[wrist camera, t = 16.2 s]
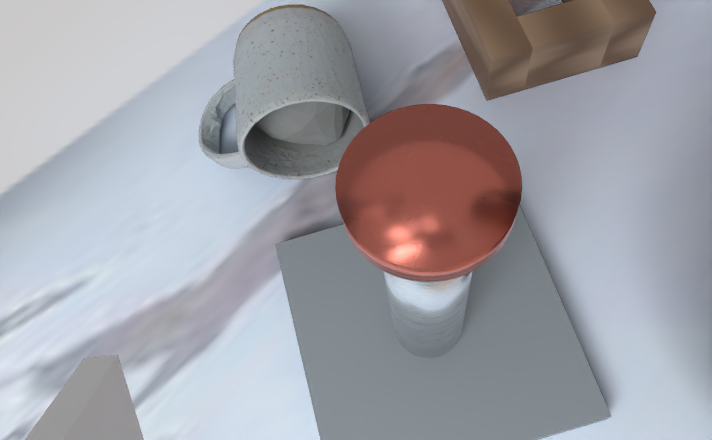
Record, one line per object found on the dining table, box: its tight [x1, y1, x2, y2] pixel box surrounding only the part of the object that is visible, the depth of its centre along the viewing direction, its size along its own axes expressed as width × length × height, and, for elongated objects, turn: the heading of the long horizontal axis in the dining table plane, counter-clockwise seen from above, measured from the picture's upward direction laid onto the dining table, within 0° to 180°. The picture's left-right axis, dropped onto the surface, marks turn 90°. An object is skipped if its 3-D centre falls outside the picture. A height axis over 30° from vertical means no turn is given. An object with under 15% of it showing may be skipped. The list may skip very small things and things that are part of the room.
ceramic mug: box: [199, 5, 370, 179], centre depth 38 cm, size 11×8×8 cm
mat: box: [275, 204, 611, 440], centre depth 35 cm, size 14×14×1 cm
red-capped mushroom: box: [336, 104, 522, 358], centre depth 27 cm, size 6×6×16 cm
